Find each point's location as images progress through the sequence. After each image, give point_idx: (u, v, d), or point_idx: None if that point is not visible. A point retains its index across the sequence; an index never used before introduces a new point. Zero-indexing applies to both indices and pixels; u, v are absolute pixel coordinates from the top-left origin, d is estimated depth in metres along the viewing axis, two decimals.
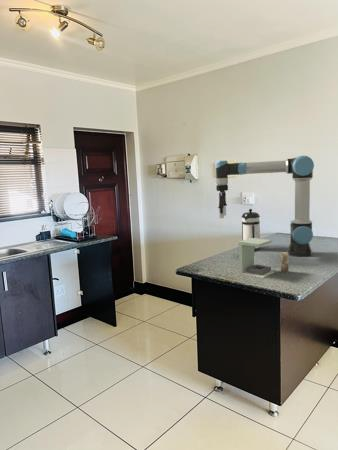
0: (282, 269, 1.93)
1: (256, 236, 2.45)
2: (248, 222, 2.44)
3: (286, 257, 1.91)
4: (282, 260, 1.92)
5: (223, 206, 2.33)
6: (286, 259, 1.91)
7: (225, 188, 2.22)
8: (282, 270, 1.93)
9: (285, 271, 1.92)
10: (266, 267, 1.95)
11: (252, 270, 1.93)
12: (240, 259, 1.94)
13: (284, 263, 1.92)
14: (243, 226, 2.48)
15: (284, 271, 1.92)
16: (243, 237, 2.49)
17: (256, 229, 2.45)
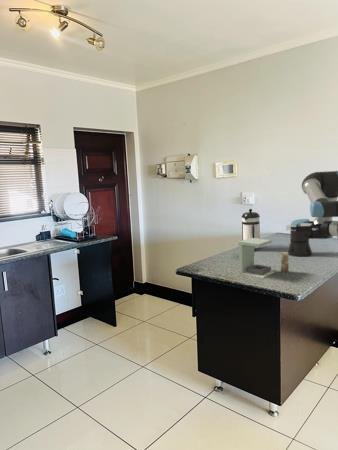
0: (282, 269, 1.93)
1: (256, 236, 2.45)
2: (248, 222, 2.44)
3: (286, 257, 1.91)
4: (282, 260, 1.92)
5: None
6: (286, 259, 1.91)
7: None
8: (282, 270, 1.93)
9: (285, 271, 1.92)
10: (266, 267, 1.95)
11: (252, 270, 1.93)
12: (240, 259, 1.94)
13: (284, 263, 1.92)
14: (243, 226, 2.48)
15: (284, 271, 1.92)
16: (243, 237, 2.49)
17: (256, 229, 2.45)
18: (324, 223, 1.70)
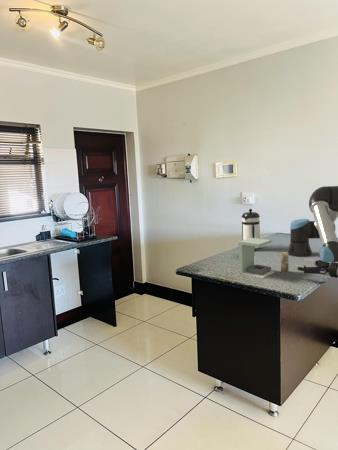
0: (282, 269, 1.93)
1: (256, 236, 2.45)
2: (248, 222, 2.44)
3: (286, 257, 1.91)
4: (282, 260, 1.92)
5: None
6: (286, 259, 1.91)
7: None
8: (282, 270, 1.93)
9: (285, 271, 1.92)
10: (266, 267, 1.95)
11: (252, 270, 1.93)
12: (240, 259, 1.94)
13: (284, 263, 1.92)
14: (243, 226, 2.48)
15: (284, 271, 1.92)
16: (243, 237, 2.49)
17: (256, 229, 2.45)
18: (332, 265, 1.72)
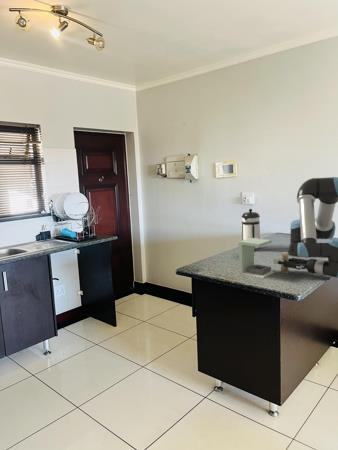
0: (282, 269, 1.93)
1: (256, 236, 2.45)
2: (248, 222, 2.44)
3: (286, 257, 1.91)
4: None
5: None
6: (286, 259, 1.91)
7: None
8: (282, 270, 1.93)
9: (285, 271, 1.92)
10: (266, 267, 1.95)
11: (252, 270, 1.93)
12: (240, 259, 1.94)
13: None
14: (243, 226, 2.48)
15: (284, 271, 1.92)
16: (243, 237, 2.49)
17: (256, 229, 2.45)
18: (309, 262, 1.80)
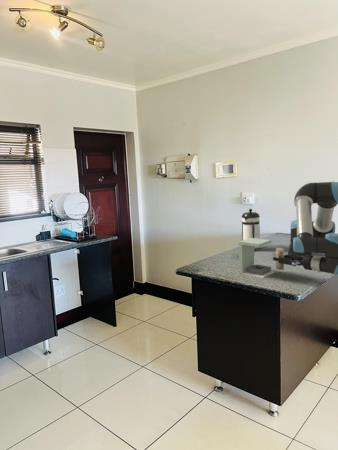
0: (277, 266, 1.85)
1: (256, 236, 2.45)
2: (248, 222, 2.44)
3: (281, 253, 1.83)
4: None
5: None
6: (281, 255, 1.83)
7: None
8: (277, 267, 1.85)
9: (280, 268, 1.84)
10: (266, 267, 1.95)
11: (252, 270, 1.93)
12: (240, 259, 1.94)
13: None
14: (243, 226, 2.48)
15: (279, 268, 1.84)
16: (243, 237, 2.49)
17: (256, 229, 2.45)
18: (306, 258, 1.72)
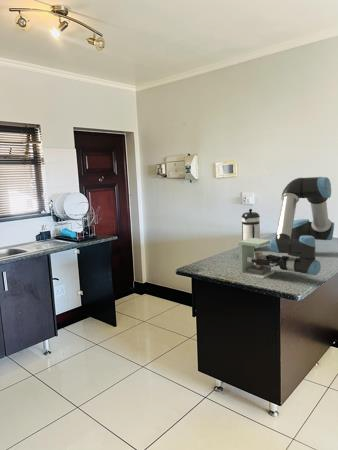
0: None
1: (256, 236, 2.45)
2: (248, 222, 2.44)
3: (260, 256, 1.92)
4: None
5: None
6: None
7: None
8: None
9: None
10: (266, 267, 1.95)
11: (252, 270, 1.93)
12: (240, 259, 1.94)
13: None
14: (243, 226, 2.48)
15: None
16: (243, 237, 2.49)
17: (256, 229, 2.45)
18: (282, 259, 1.82)
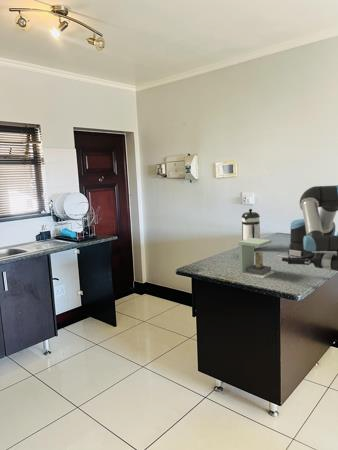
0: None
1: (256, 236, 2.45)
2: (248, 222, 2.44)
3: (260, 256, 1.92)
4: (256, 260, 1.94)
5: None
6: (260, 259, 1.93)
7: None
8: None
9: None
10: (266, 267, 1.95)
11: (252, 270, 1.93)
12: (240, 259, 1.94)
13: (258, 263, 1.93)
14: (243, 226, 2.48)
15: None
16: (243, 237, 2.49)
17: (256, 229, 2.45)
18: (316, 256, 1.68)
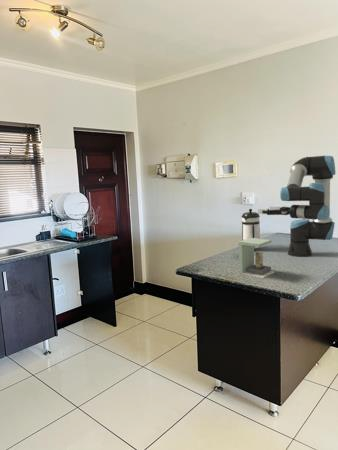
0: None
1: (256, 236, 2.45)
2: (248, 222, 2.44)
3: (260, 256, 1.93)
4: (256, 260, 1.94)
5: None
6: (260, 259, 1.93)
7: None
8: None
9: None
10: (266, 267, 1.95)
11: (252, 270, 1.93)
12: (240, 259, 1.94)
13: (258, 263, 1.93)
14: (243, 226, 2.48)
15: None
16: (243, 237, 2.49)
17: (256, 229, 2.45)
18: (292, 207, 1.88)
